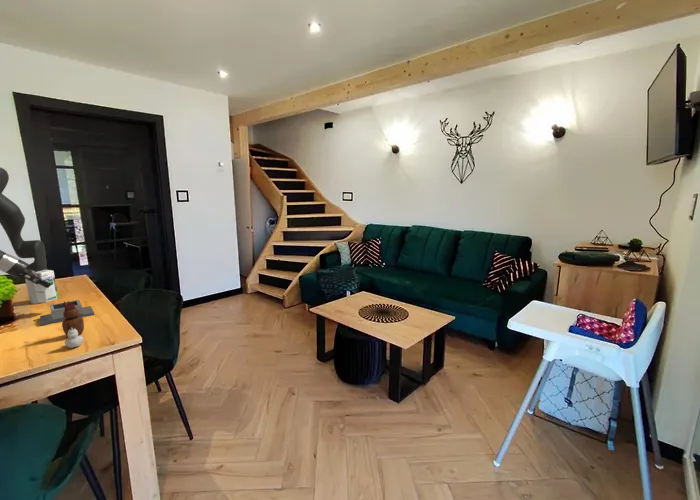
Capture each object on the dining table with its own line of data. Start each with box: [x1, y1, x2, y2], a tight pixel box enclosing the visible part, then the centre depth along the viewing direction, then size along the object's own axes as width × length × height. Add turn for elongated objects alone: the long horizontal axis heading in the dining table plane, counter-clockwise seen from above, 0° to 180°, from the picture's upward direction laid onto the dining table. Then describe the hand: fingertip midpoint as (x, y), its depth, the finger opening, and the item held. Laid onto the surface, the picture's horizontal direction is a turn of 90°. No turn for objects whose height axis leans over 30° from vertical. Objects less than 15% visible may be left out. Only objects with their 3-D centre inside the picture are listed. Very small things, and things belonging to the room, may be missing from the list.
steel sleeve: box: [39, 299, 95, 327], centre depth 159 cm, size 13×19×6 cm
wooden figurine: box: [61, 301, 85, 337], centre depth 137 cm, size 7×6×15 cm
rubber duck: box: [64, 327, 84, 349], centre depth 128 cm, size 5×7×8 cm
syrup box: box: [34, 269, 59, 303], centre depth 163 cm, size 6×6×14 cm
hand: (49, 284), depth 164 cm, fingers closed on syrup box, 7 cm apart
